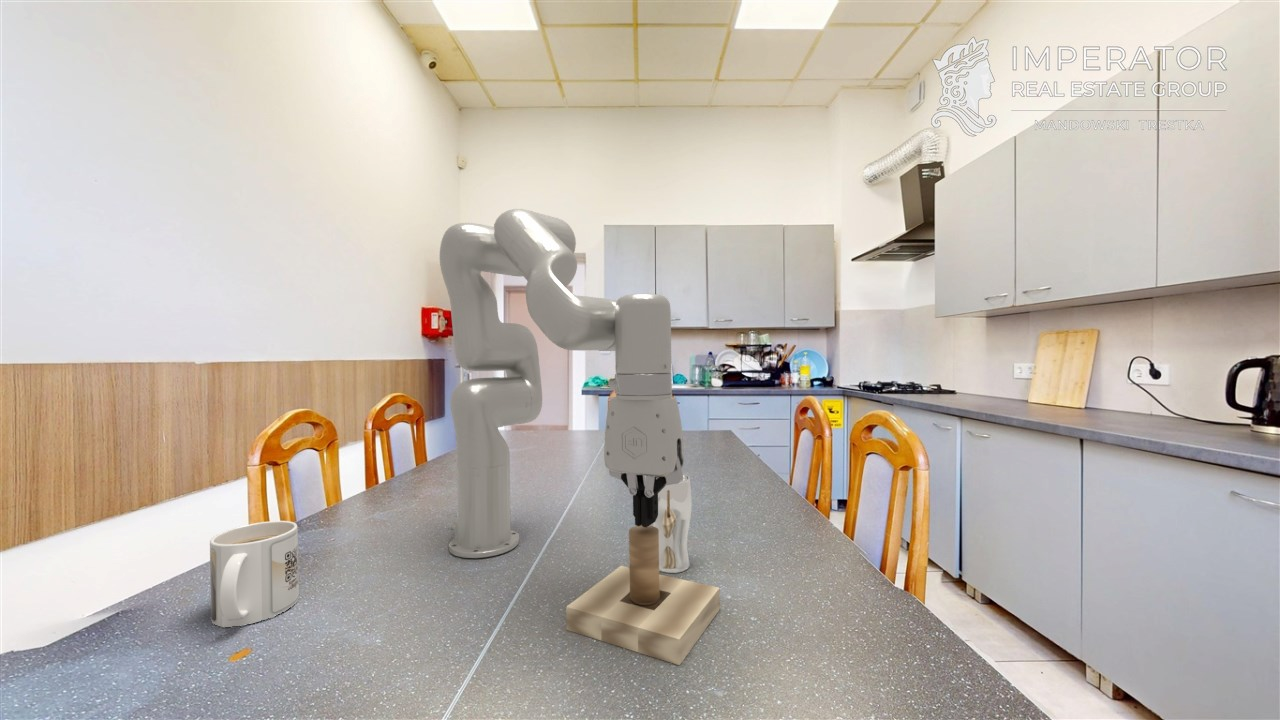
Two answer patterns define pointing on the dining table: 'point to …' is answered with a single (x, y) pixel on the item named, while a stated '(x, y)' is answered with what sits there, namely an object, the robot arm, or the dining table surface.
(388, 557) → the dining table surface
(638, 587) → the peg
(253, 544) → the mug
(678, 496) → the beer glass
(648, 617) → the board
